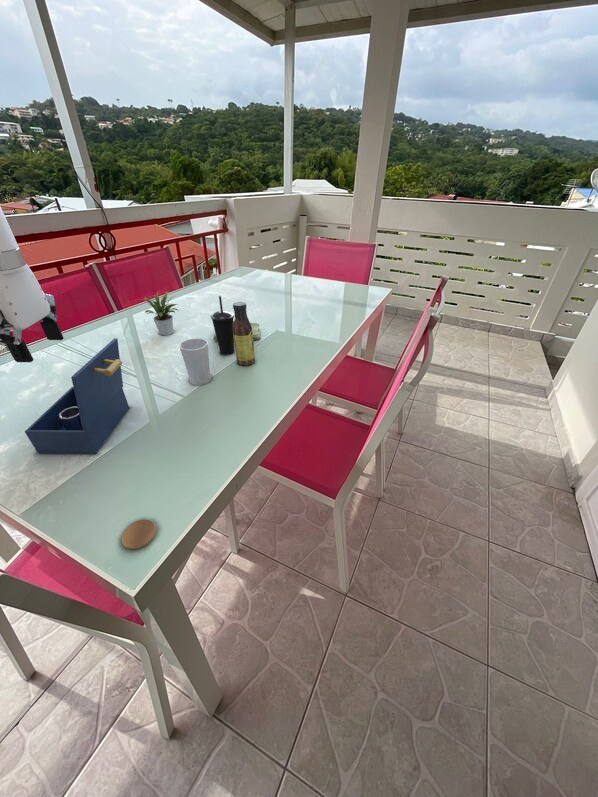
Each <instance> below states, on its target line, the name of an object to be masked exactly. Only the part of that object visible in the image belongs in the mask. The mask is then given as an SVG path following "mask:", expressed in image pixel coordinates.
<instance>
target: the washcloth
mask: <svg viewBox="0 0 598 797" xmlns="http://www.w3.org/2000/svg"><path fill="white" fill-rule="evenodd" d="M250 324H251V326H252V332H253V341H255V340H259V339H260V337H261V336H260V334H261V329H260V323H257V322H250ZM213 340H214V342H217V338H216V333H215V332H214V334H213Z"/></svg>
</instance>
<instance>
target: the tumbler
mask: <svg viewBox="0 0 598 797" xmlns="http://www.w3.org/2000/svg"><path fill="white" fill-rule="evenodd" d="M59 417H60V419H61V421H62V423H63V425H64V427H65V429H66V430H81V431H84V430H83V427H82V423H81V419H80V414H79V410H78V407H76V406H74V407H70V408H67V409H64V410H63V411H62V412H61V413H59Z"/></svg>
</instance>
